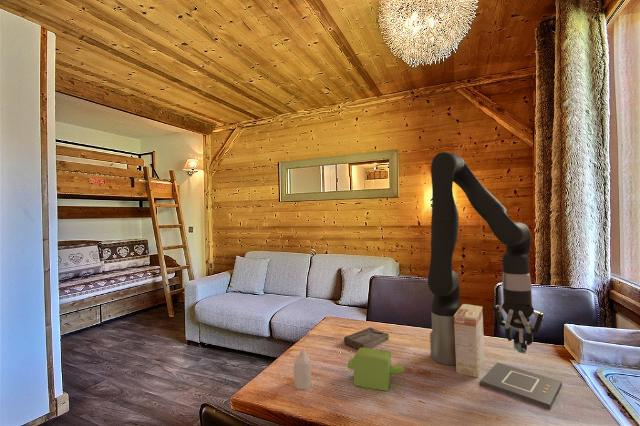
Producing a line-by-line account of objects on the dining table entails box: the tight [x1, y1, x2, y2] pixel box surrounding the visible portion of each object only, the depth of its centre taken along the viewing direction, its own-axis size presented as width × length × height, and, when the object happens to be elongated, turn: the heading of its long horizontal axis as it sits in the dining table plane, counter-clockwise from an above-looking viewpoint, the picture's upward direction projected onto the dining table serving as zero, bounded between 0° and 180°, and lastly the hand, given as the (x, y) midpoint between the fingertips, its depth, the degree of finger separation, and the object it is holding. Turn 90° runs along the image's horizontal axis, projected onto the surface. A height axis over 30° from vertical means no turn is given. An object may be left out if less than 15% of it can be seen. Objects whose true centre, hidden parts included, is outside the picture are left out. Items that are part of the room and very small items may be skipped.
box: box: [343, 327, 390, 351], centre depth 134 cm, size 11×17×3 cm, turn 131°
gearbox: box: [347, 348, 405, 391], centre depth 103 cm, size 18×10×10 cm, turn 70°
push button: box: [510, 319, 528, 355], centre depth 97 cm, size 7×5×10 cm
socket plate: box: [479, 362, 563, 410], centre depth 98 cm, size 18×16×1 cm
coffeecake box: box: [454, 303, 486, 379], centre depth 110 cm, size 15×7×20 cm, turn 144°
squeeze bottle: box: [293, 347, 312, 391], centre depth 103 cm, size 6×12×6 cm
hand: (519, 341), depth 98 cm, fingers closed on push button, 4 cm apart
